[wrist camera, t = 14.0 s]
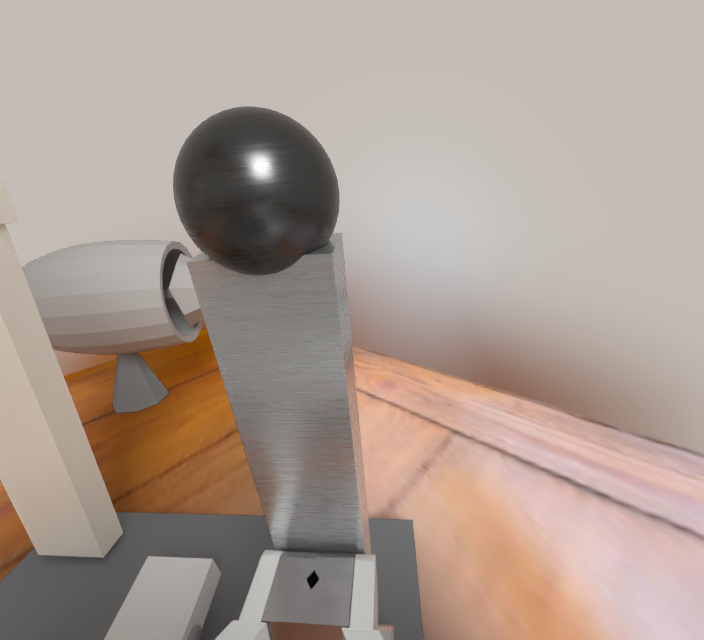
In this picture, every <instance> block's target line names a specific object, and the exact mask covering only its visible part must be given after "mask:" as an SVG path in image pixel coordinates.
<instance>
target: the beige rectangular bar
mask: <svg viewBox="0 0 704 640" xmlns="http://www.w3.org/2000/svg"><path fill="white" fill-rule="evenodd" d="M10 223H20V222H19V219H18V216H17V214H16V211H15V208H14V206H13V203H12V200H11V198H10V195H9V192H8V190H7V187H6V184H5V183H0V480H1V482H2V484H3V486H4V488H5V490H6V492H7V494H8V496H9V498H10V500H11V502H12V504H13V506H14V508H15V510H16V512H17V514H18V516H19V518H20V520H21V522H22V524H23V526H24V528H25V530H26V532H27V534H28V535H29V537H30V539H31V541H32V543H33V545H34V547H35V549H36V551H37V553H38V555H52V556H76V557H100V558H104V557H105V555H106V554H107V553H108V552H109V550H110V549H111V548H112V546H113V545H114V544H115V543H116V541H117V540H118V539H119V538H120V536H121V535H122V534H123V530H122V527H121V525H120V522H119V520H118V517H117V514H116V512H115V509H114V507H113V504H112V501H111V499H110V496H109V494H108V491H107V488H106V486H105V483H104V481H103V478H102V475H101V473H100V470H99V468H98V465H97V462H96V460H95V457H94V455H93V452H92V449H91V447H90V444H89V442H88V439H87V436H86V434H85V431H84V428H83V426H82V423H81V421H80V418H79V415H78V413H77V410H76V408H75V405H74V402H73V400H72V397H71V395H70V392H69V389H68V387H67V384H66V382H65V379H64V376H63V374H62V371H61V369H60V366H59V363H58V361H57V358H56V356H55V353H54V350H53V348H52V345H51V343H50V340H49V337H48V335H47V332H46V329H45V327H44V324H43V322H42V319H41V316H40V314H39V311H38V309H37V306H36V303H35V301H34V298H33V296H32V293H31V290H30V288H29V285H28V283H27V280H26V277H25V275H24V272H23V270H22V267H21V265H20V262H19V260H18V257H17V254H16V251H15V249H14V246H13V244H12V241H11V238H10V236H9V233H8V230H7V228H6V225H5V224H10Z"/></svg>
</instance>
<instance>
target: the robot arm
mask: <svg viewBox="0 0 704 640" xmlns="http://www.w3.org/2000/svg"><path fill="white" fill-rule="evenodd" d="M215 640H384V639H383V637H382V635H381V633H380V630H378V587H377V568H376V555H375V554H356V553H321V552H320V553H309V552H293V551H278V550H265V551H264V553H263V554H262V556H261V557H260V560H259V563H258V566H257V569H256V572H255V574H254V577H253V580H252V583H251V586H250V589H249V591H248V594H247V597H246V600H245V603H244V605H243V608H242V611H241V614H240V617H239V620H232V621H231V622H230V623H229V625H228V626H227V627H226V628H225V629H224V630H223V631H222V632H221V633H220V634H219V635H218V636H217V637H216V639H215Z"/></svg>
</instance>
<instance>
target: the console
mask: <svg viewBox="0 0 704 640" xmlns="http://www.w3.org/2000/svg"><path fill="white" fill-rule="evenodd" d="M116 514H117V517H118V520H119V522H120V525H121V527H122V530H123V534H122V535H121V536H120V538H119V539H118V540H117V541H116V543H115V544H114V545H113V546H112V548H111V549H110V550H109V552H108V553H107V554H106V555H105V557H104V558H100V557H76V556H52V555H38V553H37V551H36V549H35V548H34V549H33V550H32V551H31V552H30V553H29V554H28V555H27V556H26V557H25V558H24V559H23V560H22V561H21V562H20V563H19V564H18V565H17V566H16V567H15V568H14V569H13V570H12V571H10V572H9V573H8V574H7V575H6V576H5V577H4V578H3V579H2V580H1V581H0V640H104V639H105V637H106V635H107V633H108V631H109V629H110V627H111V625H112V623H113V622H114V620H115V618H116V616H117V614H118V612H119V610H120V608H121V606H122V605H123V603H124V601H125V599H126V597H127V595H128V593H129V591H130V589H131V587H132V586H133V584H134V582H135V580H136V578H137V576H138V574H139V572H140V570H141V569H142V567H143V565H144V563H145V561H146V559H147V557H148V556H156V557H181V558H205V559H213V560H214V562H215V563H216V565H217V567H218V568H219V570H220V572H221V576H220V579H219V582H218V584H217V587H216V590H215V593H214V596H213V599H212V602H211V605H210V607H209V610H208V613H207V616H206V619H205V622H204V625H203V628H202V630H201V638H200V640H215V639H216V637H217V636H218V635H219V634H220V633H221V632H222V631H223V630H224V629H225V628H226V627H227V626H228V625H229V623H230V622H231V621H232V620H239V617H240V614H241V611H242V608H243V605H244V603H245V600H246V597H247V594H248V591H249V589H250V586H251V583H252V580H253V577H254V574H255V572H256V569H257V566H258V563H259V560H260V557H261V556H262V554H263V553H264V551H265V550H275V547H274V544H273V541H272V537H271V534H270V531H269V528H268V524H267V521H266V518H265V516H248V515H210V514H172V513H135V512H116ZM368 521H369V532H370V543H371V553H372V554H375V555H376V568H377V587H378V624H391V625H394V640H423V630H422V619H421V608H420V597H419V586H418V575H417V564H416V553H415V542H414V530H413V520H399V519H368Z"/></svg>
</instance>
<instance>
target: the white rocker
mask: <svg viewBox="0 0 704 640" xmlns="http://www.w3.org/2000/svg"><path fill="white" fill-rule="evenodd" d="M220 576H221V572H220V570H219V568H218V567H217V565H216V563H215V562H214V560H213V559H205V558H181V557H156V556H148V557H147V559H146V561H145V563H144V565H143V567H142V569H141V570H140V572H139V574H138V576H137V578H136V580H135V582H134V584H133V586H132V587H131V589H130V591H129V593H128V595H127V597H126V599H125V601H124V603H123V605H122V606H121V608H120V610H119V612H118V614H117V616H116V618H115V620H114V622H113V623H112V625H111V627H110V629H109V631H108V633H107V635H106V637H105V639H104V640H200V638H201V630H202V628H203V625H204V622H205V619H206V616H207V613H208V610H209V607H210V605H211V602H212V599H213V596H214V593H215V590H216V587H217V584H218V582H219V579H220Z"/></svg>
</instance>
